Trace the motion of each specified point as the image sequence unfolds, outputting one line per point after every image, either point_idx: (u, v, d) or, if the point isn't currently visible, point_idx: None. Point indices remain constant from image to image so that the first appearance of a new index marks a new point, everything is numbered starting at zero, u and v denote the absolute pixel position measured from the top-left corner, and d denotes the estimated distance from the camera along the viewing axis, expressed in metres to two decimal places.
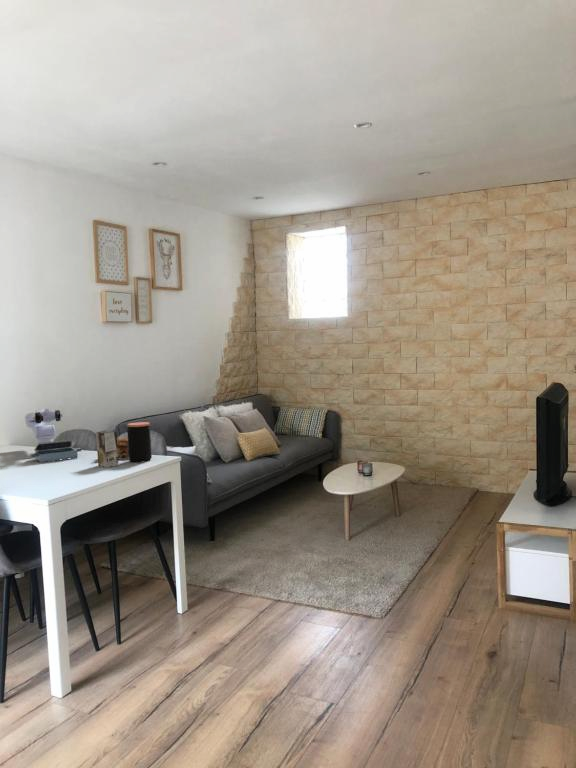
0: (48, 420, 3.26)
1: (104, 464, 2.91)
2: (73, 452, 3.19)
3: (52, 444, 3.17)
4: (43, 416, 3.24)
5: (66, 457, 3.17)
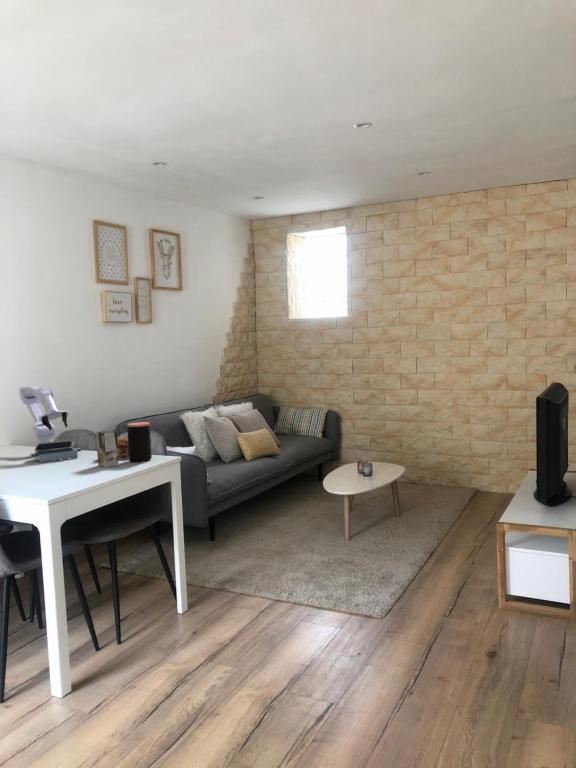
0: (54, 418, 3.24)
1: (104, 464, 2.91)
2: (73, 452, 3.19)
3: (52, 444, 3.17)
4: (50, 417, 3.21)
5: (66, 457, 3.17)
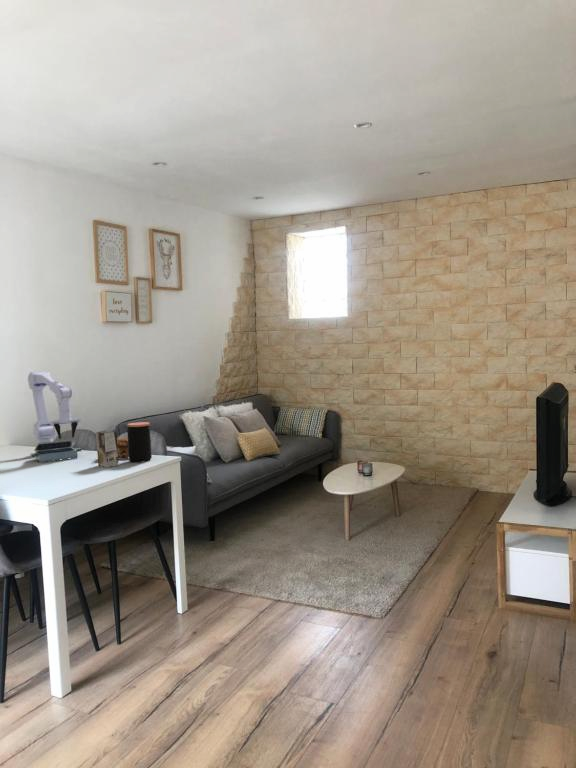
0: None
1: (104, 464, 2.91)
2: (73, 452, 3.19)
3: (52, 444, 3.17)
4: (61, 423, 3.19)
5: (66, 457, 3.17)
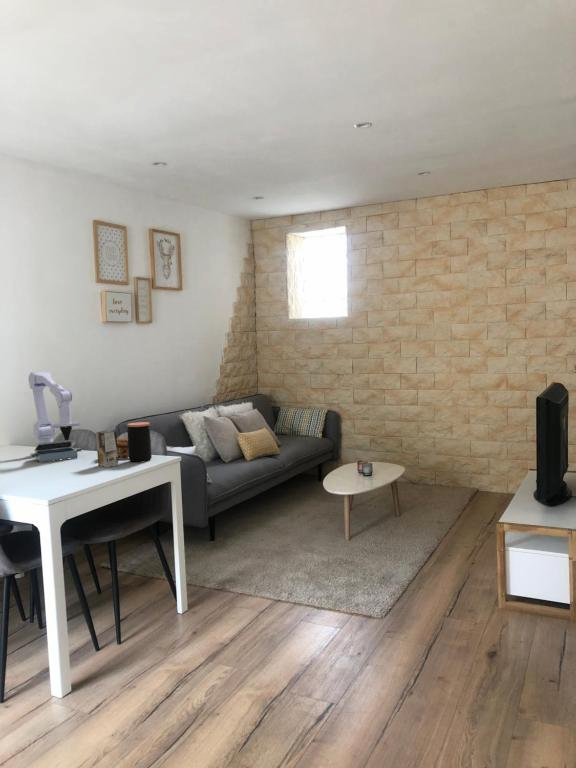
0: None
1: (104, 464, 2.91)
2: (73, 452, 3.19)
3: (52, 444, 3.17)
4: None
5: (66, 457, 3.17)
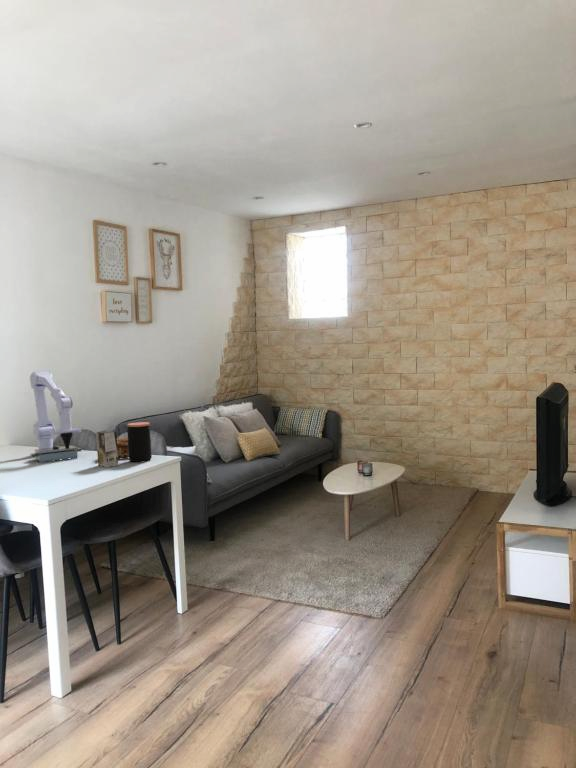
0: None
1: (104, 464, 2.91)
2: (73, 452, 3.19)
3: None
4: None
5: (66, 457, 3.17)
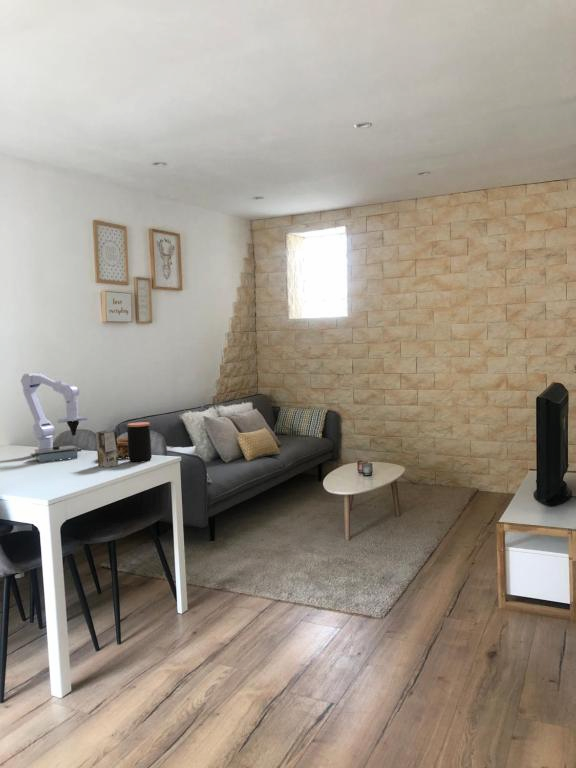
0: None
1: (104, 464, 2.91)
2: (73, 452, 3.19)
3: None
4: None
5: (66, 457, 3.17)
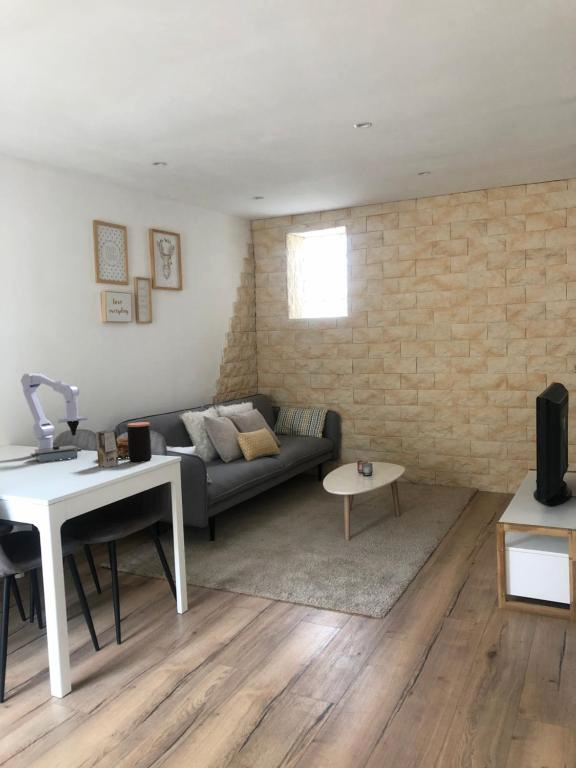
0: None
1: (104, 464, 2.91)
2: (73, 452, 3.19)
3: None
4: None
5: (66, 457, 3.17)
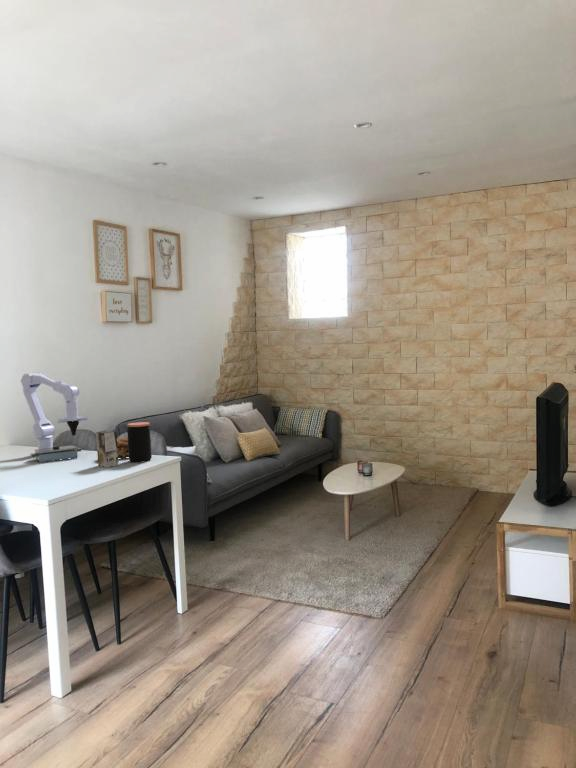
0: None
1: (104, 464, 2.91)
2: (73, 452, 3.19)
3: None
4: None
5: (66, 457, 3.17)
